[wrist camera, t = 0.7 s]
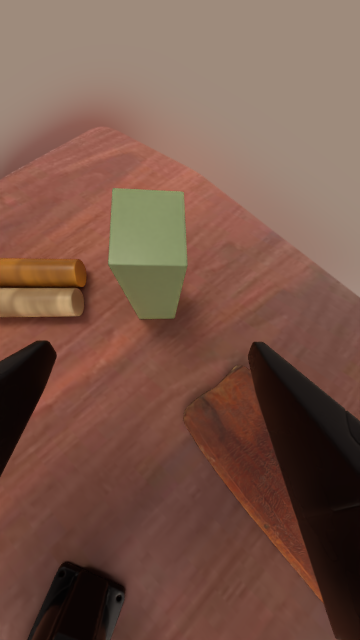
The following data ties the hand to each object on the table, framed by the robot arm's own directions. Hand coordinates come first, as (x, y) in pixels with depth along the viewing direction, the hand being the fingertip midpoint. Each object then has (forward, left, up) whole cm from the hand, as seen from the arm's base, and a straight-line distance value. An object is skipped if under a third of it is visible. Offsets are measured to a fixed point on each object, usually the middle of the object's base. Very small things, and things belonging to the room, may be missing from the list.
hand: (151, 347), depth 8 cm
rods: (+2, +17, -14) cm, 22 cm away
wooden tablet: (-7, -18, -14) cm, 24 cm away
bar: (+7, +3, -14) cm, 16 cm away
